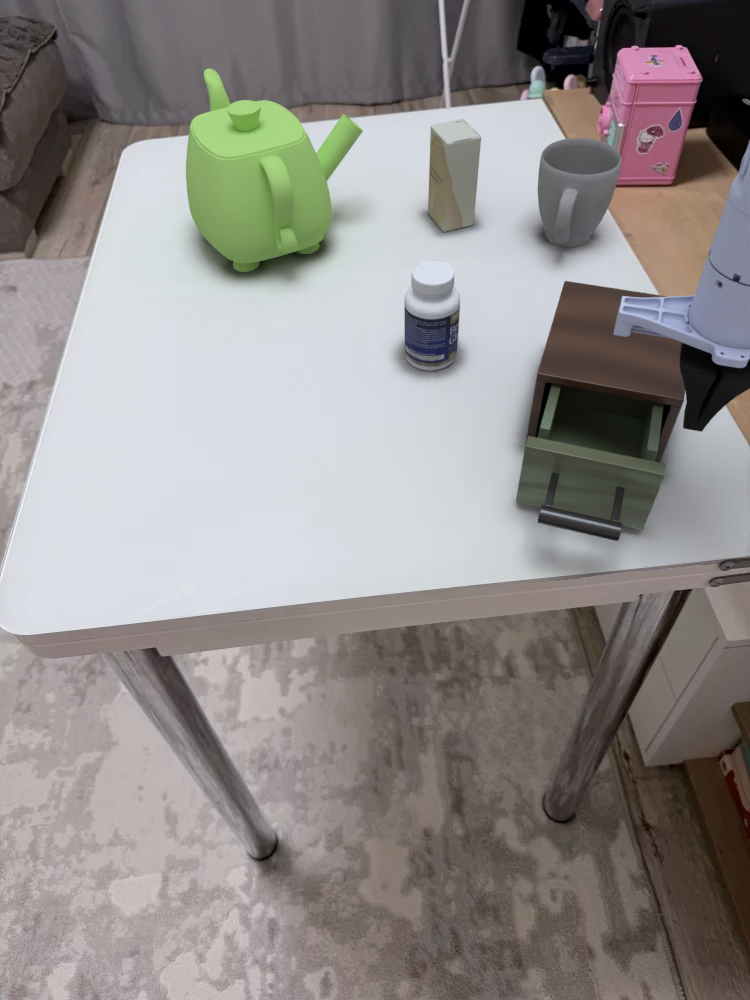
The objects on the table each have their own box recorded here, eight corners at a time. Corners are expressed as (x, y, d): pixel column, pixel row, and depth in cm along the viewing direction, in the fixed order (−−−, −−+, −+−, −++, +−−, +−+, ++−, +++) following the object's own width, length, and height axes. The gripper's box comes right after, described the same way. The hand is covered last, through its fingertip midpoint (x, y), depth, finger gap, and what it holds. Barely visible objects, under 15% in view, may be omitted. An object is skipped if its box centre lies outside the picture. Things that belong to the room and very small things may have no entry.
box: (426, 213, 94) (428, 123, 85) (458, 205, 95) (462, 116, 86) (443, 234, 91) (447, 142, 82) (475, 226, 91) (482, 135, 83)
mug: (539, 211, 93) (550, 133, 86) (610, 222, 91) (628, 142, 83) (516, 263, 86) (526, 183, 79) (593, 276, 84) (610, 195, 76)
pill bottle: (458, 372, 74) (463, 288, 67) (404, 372, 75) (404, 290, 67) (455, 337, 78) (460, 255, 70) (404, 338, 78) (403, 256, 70)
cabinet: (656, 472, 65) (684, 400, 58) (524, 445, 68) (537, 373, 61) (669, 373, 73) (694, 300, 66) (551, 353, 76) (564, 280, 69)
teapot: (403, 253, 88) (402, 115, 76) (231, 305, 83) (200, 166, 71) (322, 165, 103) (310, 37, 91) (171, 204, 98) (137, 74, 85)
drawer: (636, 579, 57) (659, 525, 52) (503, 547, 59) (511, 492, 54) (657, 425, 67) (677, 367, 62) (542, 403, 70) (553, 346, 64)
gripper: (628, 281, 45) (588, 439, 55) (896, 319, 41) (798, 479, 52) (640, 220, 49) (600, 378, 59) (883, 250, 45) (796, 411, 56)
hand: (693, 421), depth 56 cm, fingers closed
